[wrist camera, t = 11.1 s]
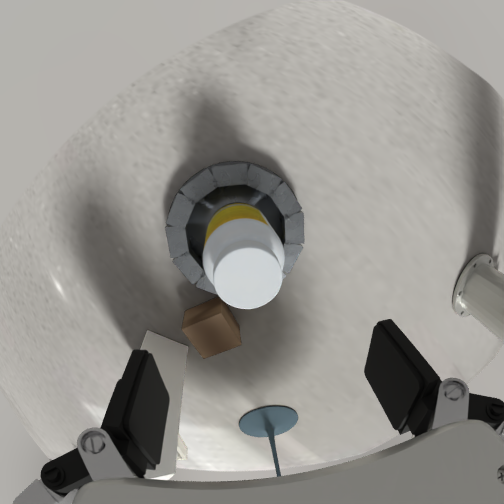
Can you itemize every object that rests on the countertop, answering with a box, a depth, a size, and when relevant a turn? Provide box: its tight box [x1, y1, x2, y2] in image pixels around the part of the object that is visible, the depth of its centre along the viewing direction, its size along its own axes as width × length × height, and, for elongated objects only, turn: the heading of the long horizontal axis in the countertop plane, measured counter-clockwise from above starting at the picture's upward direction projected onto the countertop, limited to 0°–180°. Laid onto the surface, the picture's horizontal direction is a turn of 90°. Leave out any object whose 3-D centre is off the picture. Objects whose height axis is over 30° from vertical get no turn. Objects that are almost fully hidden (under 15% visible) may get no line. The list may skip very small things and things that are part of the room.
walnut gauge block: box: [182, 297, 241, 359], centre depth 31 cm, size 5×5×4 cm
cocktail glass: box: [239, 406, 298, 477], centre depth 30 cm, size 18×18×25 cm
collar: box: [165, 161, 304, 295], centre depth 28 cm, size 15×15×2 cm
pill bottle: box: [203, 202, 285, 309], centre depth 23 cm, size 6×6×12 cm
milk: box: [140, 330, 188, 480], centre depth 24 cm, size 6×6×22 cm
